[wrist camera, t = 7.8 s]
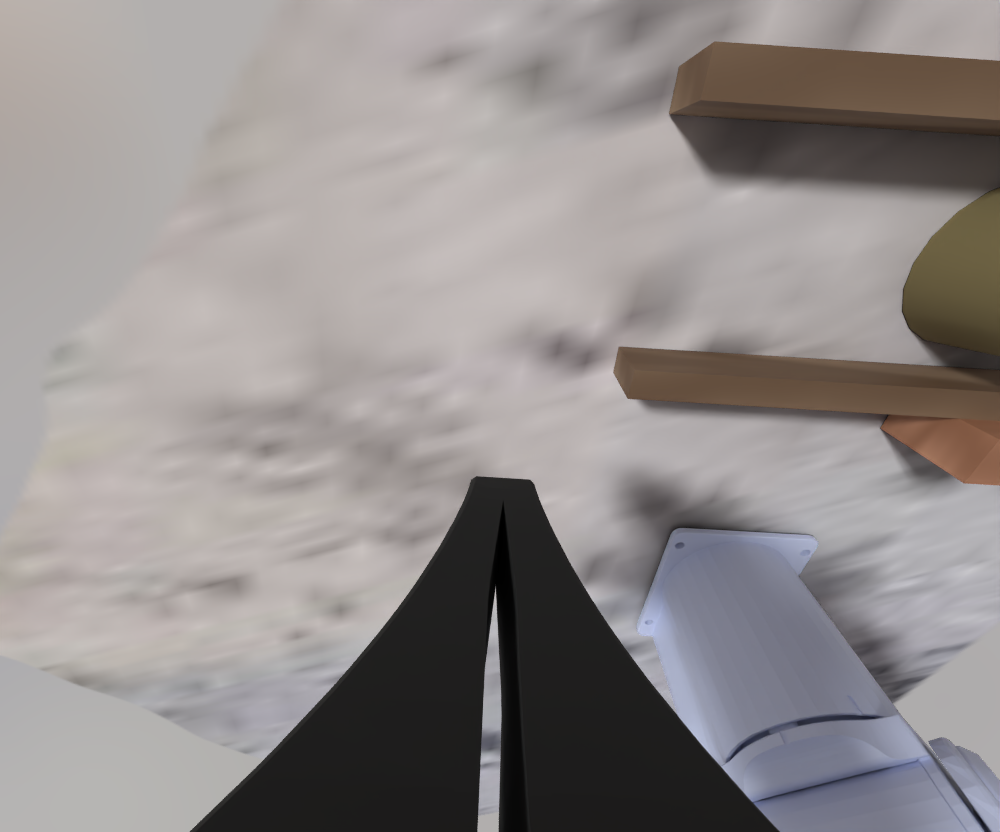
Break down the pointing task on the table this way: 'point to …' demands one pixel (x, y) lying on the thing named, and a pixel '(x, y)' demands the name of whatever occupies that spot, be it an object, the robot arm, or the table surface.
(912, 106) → the guide channel
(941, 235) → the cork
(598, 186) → the table surface
